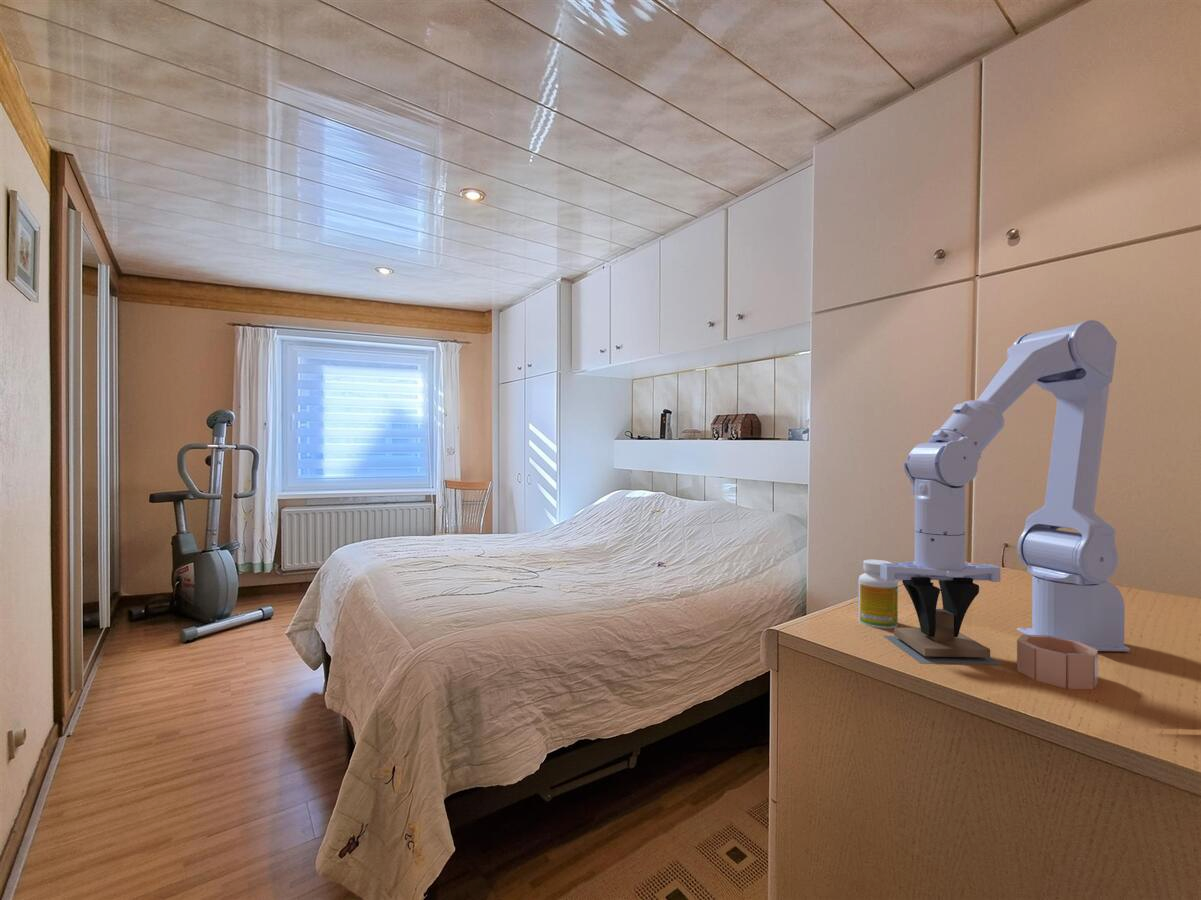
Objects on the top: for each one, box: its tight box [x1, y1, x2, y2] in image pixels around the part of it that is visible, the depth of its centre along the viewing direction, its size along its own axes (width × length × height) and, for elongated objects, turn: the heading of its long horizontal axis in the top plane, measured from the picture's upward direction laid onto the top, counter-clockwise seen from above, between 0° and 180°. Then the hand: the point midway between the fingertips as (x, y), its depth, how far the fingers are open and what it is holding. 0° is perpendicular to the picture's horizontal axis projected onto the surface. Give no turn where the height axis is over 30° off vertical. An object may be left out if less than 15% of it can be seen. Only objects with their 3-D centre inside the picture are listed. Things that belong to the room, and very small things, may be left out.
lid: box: [893, 608, 991, 657], centre depth 73 cm, size 8×8×4 cm
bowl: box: [1016, 634, 1099, 690], centre depth 64 cm, size 7×7×4 cm
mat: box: [883, 635, 1004, 666], centre depth 73 cm, size 10×10×1 cm
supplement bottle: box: [857, 559, 899, 629], centre depth 84 cm, size 5×5×10 cm
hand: (939, 634), depth 73 cm, fingers closed on lid, 2 cm apart
